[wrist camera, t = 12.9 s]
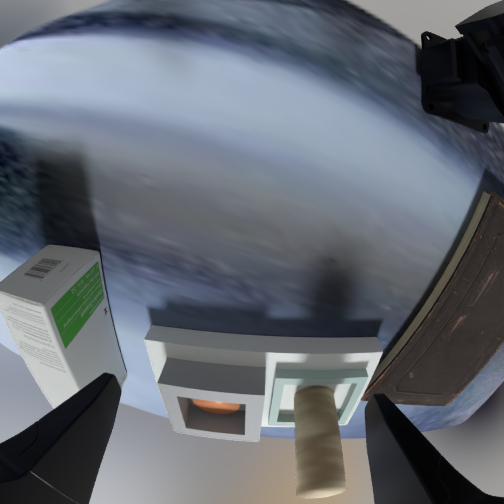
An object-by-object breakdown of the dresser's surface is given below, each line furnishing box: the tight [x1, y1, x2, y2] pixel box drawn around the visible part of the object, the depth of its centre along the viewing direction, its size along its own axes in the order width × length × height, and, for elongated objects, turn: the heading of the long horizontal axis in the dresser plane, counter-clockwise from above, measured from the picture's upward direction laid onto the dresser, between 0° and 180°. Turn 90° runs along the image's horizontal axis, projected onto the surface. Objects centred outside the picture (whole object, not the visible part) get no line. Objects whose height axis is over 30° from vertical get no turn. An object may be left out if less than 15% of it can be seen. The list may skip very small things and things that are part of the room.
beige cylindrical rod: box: [294, 386, 346, 498], centre depth 19 cm, size 4×4×10 cm
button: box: [192, 399, 240, 414], centre depth 23 cm, size 4×4×1 cm
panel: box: [144, 325, 383, 442], centre depth 23 cm, size 20×12×5 cm, turn 88°
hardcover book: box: [361, 190, 504, 406], centre depth 21 cm, size 16×23×2 cm
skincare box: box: [0, 245, 127, 409], centre depth 20 cm, size 8×7×16 cm
